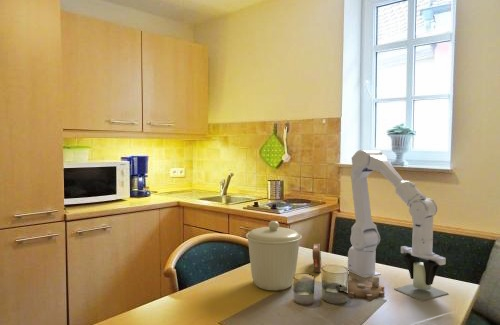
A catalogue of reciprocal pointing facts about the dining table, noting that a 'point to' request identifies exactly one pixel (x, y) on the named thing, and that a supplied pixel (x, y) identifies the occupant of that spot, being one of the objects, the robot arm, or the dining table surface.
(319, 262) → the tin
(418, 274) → the sage can
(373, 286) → the sprocket wheel
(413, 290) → the slate mat
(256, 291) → the dining table surface
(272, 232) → the canister
